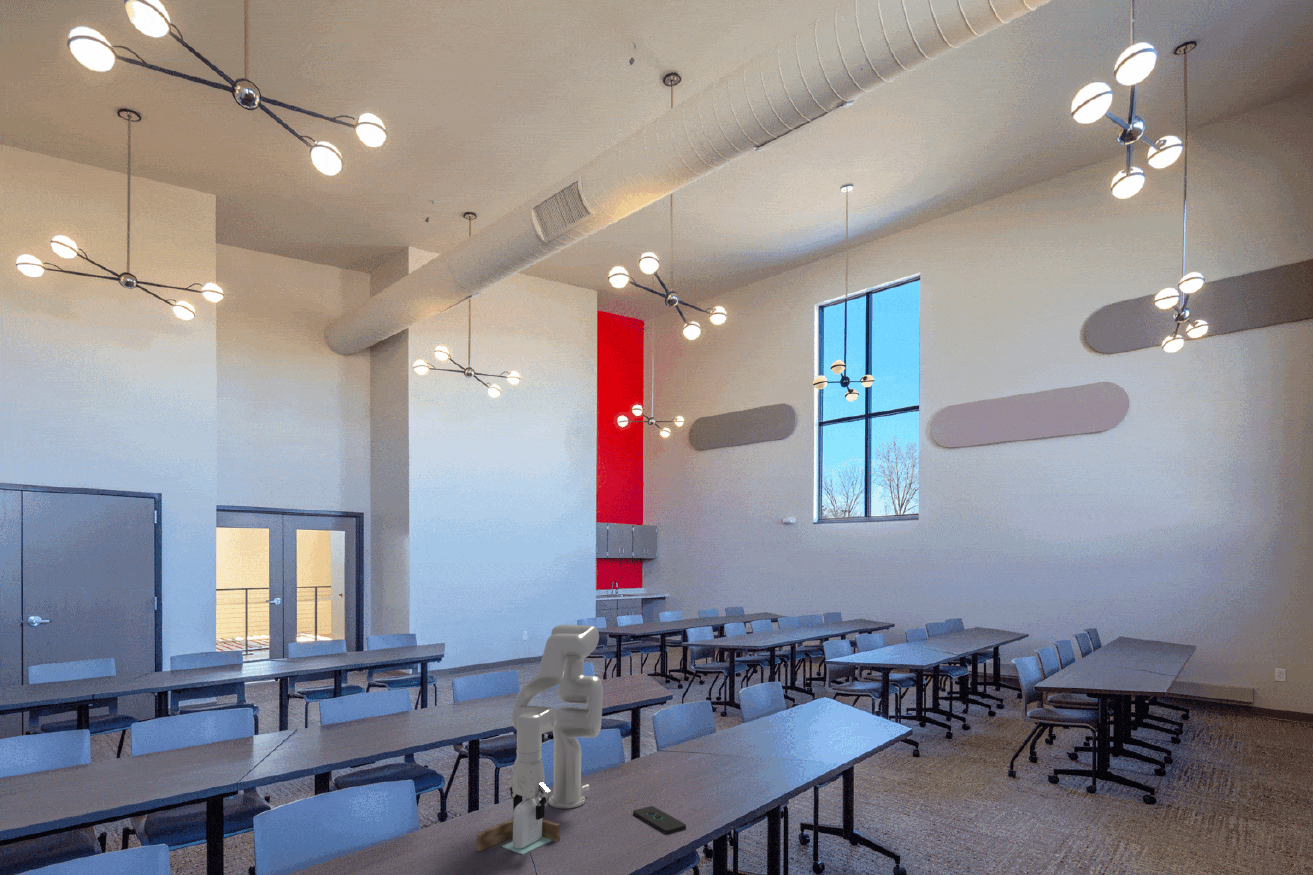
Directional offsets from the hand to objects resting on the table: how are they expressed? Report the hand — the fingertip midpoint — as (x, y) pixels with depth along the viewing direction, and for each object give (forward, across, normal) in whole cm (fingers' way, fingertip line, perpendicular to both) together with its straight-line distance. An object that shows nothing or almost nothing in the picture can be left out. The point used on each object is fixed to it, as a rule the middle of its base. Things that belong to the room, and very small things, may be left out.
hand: (528, 814), depth 216 cm
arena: (+8, -1, -3) cm, 9 cm away
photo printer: (+8, 0, -1) cm, 8 cm away
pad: (+8, 0, -1) cm, 8 cm away
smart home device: (+10, +22, +36) cm, 44 cm away
